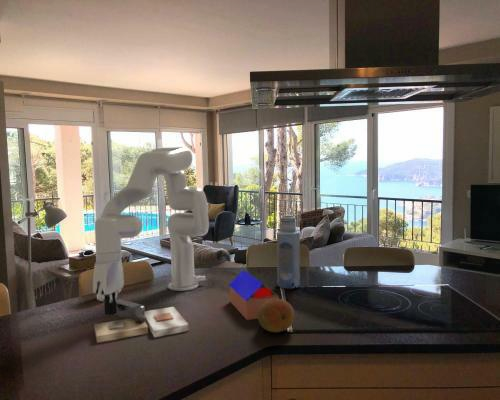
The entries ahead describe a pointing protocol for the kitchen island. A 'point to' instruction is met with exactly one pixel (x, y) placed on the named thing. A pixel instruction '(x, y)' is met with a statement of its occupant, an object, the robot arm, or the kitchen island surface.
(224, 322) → the kitchen island surface
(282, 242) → the bottle
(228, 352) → the kitchen island surface
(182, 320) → the door and jamb
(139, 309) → the bar
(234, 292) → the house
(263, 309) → the fruit
